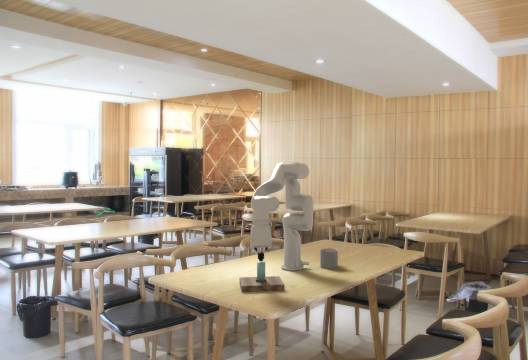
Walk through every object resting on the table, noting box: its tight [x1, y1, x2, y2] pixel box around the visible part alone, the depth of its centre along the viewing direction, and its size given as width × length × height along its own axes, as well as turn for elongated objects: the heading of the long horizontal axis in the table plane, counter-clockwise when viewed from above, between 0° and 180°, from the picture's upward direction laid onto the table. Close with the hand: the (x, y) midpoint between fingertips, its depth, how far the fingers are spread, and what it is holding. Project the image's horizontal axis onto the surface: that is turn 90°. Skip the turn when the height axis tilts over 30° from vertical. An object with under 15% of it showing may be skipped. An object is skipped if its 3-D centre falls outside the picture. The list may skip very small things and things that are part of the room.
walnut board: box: [239, 275, 285, 293], centre depth 216 cm, size 20×16×3 cm
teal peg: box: [256, 261, 266, 282], centre depth 216 cm, size 4×4×12 cm
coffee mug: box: [319, 247, 339, 270], centre depth 260 cm, size 13×10×10 cm
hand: (260, 260), depth 216 cm, fingers closed
